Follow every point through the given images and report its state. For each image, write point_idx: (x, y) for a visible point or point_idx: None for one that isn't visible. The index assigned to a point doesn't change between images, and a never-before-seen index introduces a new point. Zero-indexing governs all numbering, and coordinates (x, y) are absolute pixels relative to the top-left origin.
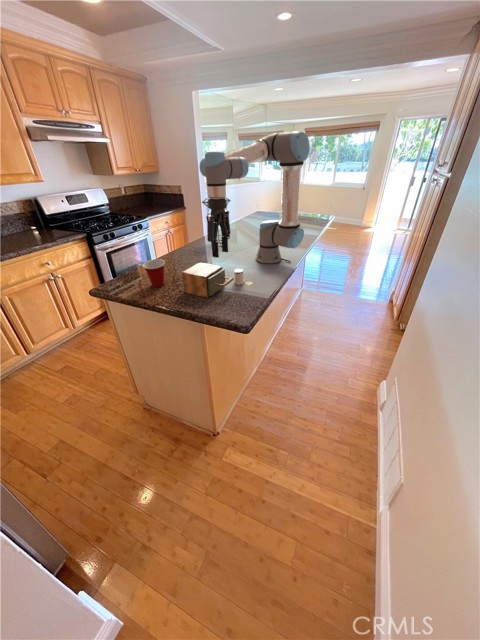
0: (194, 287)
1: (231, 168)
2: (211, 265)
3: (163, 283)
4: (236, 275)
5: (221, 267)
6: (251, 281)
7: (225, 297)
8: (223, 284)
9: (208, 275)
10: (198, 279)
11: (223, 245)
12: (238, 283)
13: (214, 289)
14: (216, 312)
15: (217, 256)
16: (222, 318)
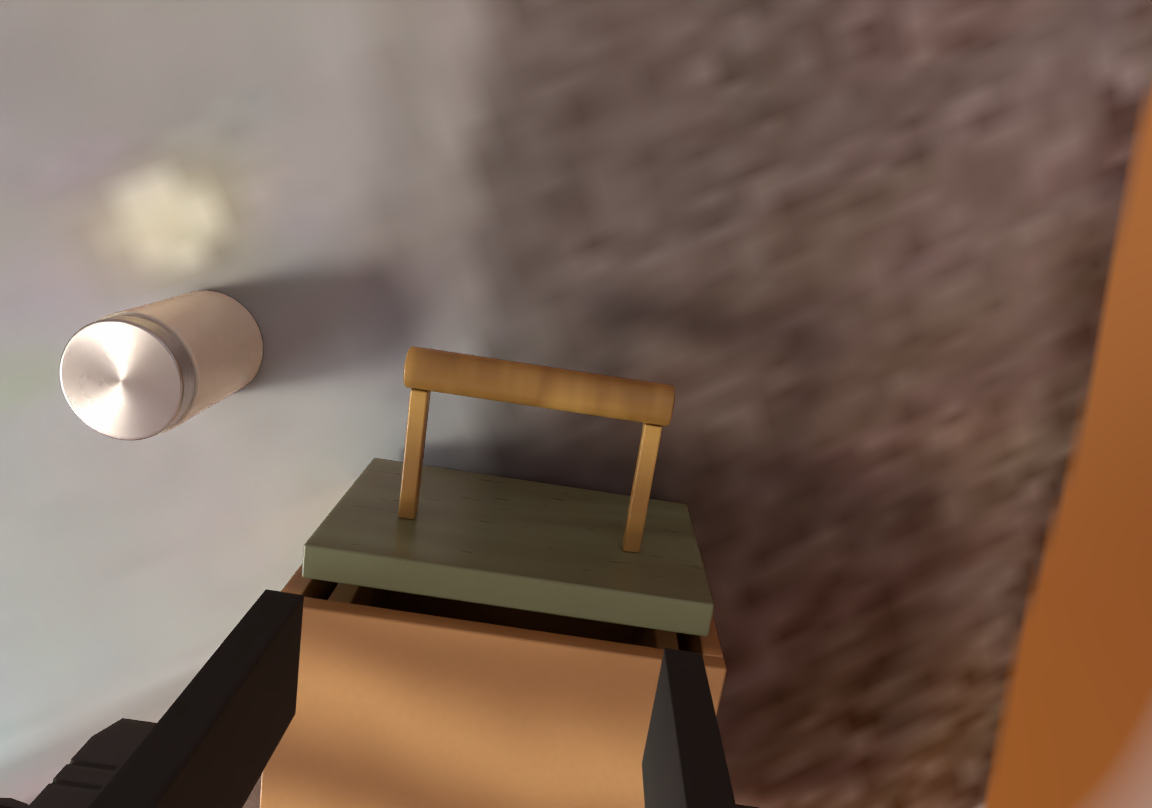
0: None
1: None
2: (299, 758)
3: None
4: (210, 382)
5: None
6: (101, 207)
7: (626, 354)
8: (661, 402)
9: (650, 653)
10: None
11: (238, 775)
12: (254, 334)
13: (612, 511)
14: (976, 314)
15: (703, 674)
16: (1085, 203)
